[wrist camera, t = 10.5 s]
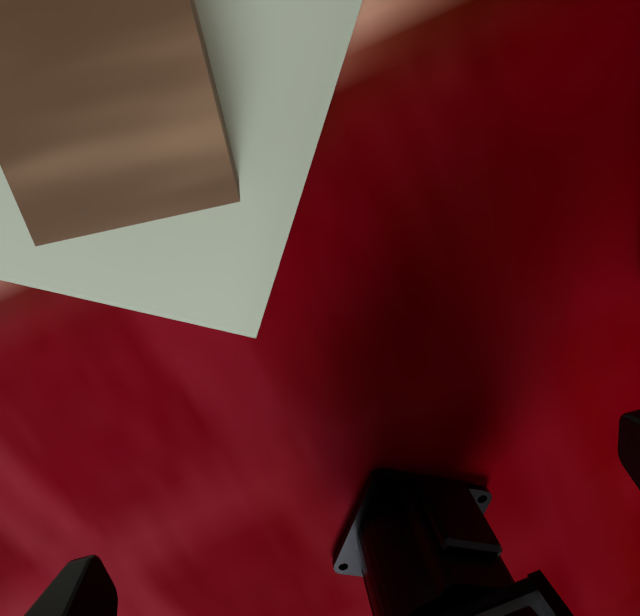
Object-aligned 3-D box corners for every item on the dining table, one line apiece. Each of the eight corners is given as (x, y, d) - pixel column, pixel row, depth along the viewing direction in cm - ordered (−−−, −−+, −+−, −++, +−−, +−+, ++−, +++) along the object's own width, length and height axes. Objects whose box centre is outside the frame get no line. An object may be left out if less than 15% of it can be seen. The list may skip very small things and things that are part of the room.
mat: (255, 333, 22) (255, 338, 21) (-177, 234, 18) (-186, 237, 18) (410, -159, 16) (414, -165, 16) (-177, -461, 12) (-190, -478, 12)
